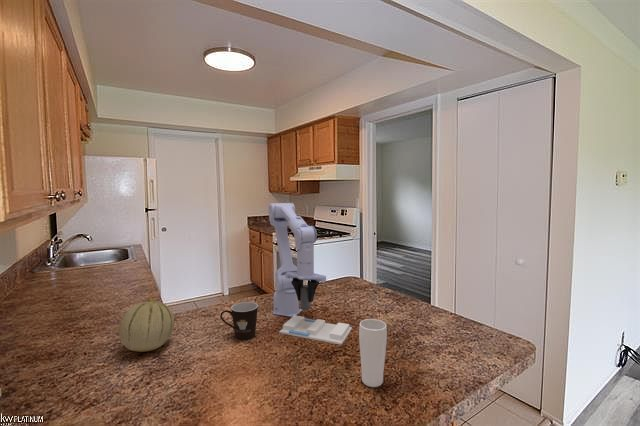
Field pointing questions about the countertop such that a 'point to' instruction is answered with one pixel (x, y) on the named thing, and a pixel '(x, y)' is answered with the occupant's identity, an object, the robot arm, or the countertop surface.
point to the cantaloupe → (146, 326)
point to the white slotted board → (316, 329)
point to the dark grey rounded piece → (304, 298)
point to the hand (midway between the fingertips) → (305, 300)
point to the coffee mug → (243, 320)
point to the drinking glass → (372, 351)
